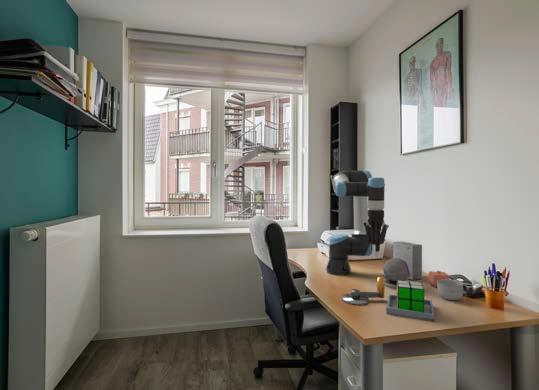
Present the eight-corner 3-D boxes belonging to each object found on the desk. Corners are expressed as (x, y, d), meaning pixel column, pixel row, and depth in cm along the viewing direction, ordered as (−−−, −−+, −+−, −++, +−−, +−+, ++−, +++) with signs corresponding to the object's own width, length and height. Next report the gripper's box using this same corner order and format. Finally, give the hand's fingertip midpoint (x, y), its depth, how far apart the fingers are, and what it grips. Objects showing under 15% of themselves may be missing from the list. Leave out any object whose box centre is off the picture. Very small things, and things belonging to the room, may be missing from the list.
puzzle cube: (421, 305, 133) (421, 282, 133) (424, 313, 124) (424, 289, 123) (396, 302, 136) (396, 280, 136) (397, 310, 127) (397, 286, 127)
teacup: (454, 304, 137) (454, 286, 137) (431, 296, 146) (431, 280, 146) (471, 299, 143) (472, 282, 143) (449, 292, 153) (449, 276, 153)
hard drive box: (422, 279, 176) (422, 244, 175) (412, 280, 173) (412, 245, 173) (401, 272, 190) (402, 240, 190) (392, 273, 187) (392, 241, 187)
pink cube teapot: (436, 290, 156) (436, 274, 156) (427, 283, 168) (427, 268, 168) (452, 290, 155) (452, 274, 155) (442, 283, 167) (442, 268, 167)
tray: (389, 299, 142) (389, 294, 142) (431, 306, 134) (431, 300, 134) (386, 313, 126) (386, 307, 126) (434, 321, 118) (434, 314, 118)
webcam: (411, 290, 155) (412, 261, 155) (385, 288, 158) (385, 260, 158) (405, 283, 168) (406, 256, 168) (381, 281, 170) (381, 255, 170)
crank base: (344, 294, 149) (344, 292, 149) (370, 298, 144) (370, 295, 144) (339, 302, 138) (339, 299, 138) (367, 306, 133) (367, 304, 133)
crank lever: (352, 298, 139) (352, 279, 138) (349, 295, 143) (350, 276, 142) (385, 298, 139) (386, 278, 139) (382, 295, 143) (382, 276, 143)
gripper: (392, 209, 143) (392, 259, 144) (369, 208, 154) (368, 254, 155) (383, 210, 139) (382, 261, 140) (359, 208, 150) (359, 256, 150)
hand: (375, 257), depth 147 cm, fingers closed
